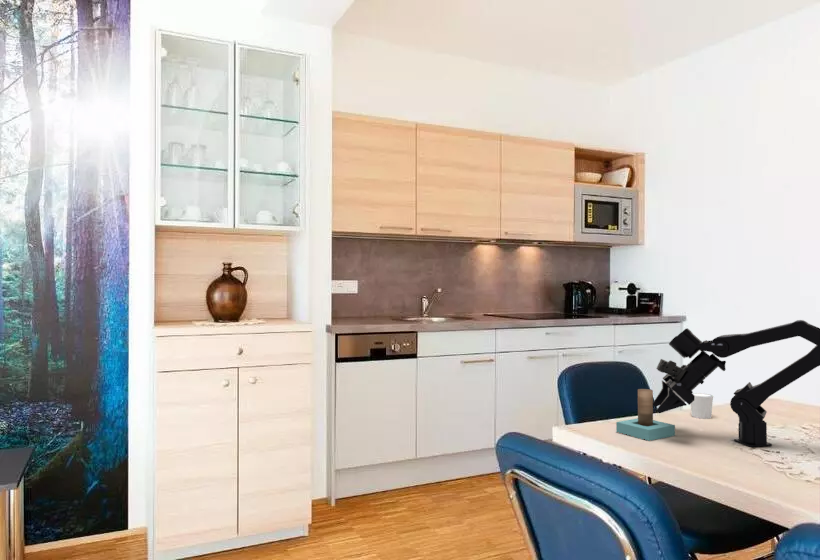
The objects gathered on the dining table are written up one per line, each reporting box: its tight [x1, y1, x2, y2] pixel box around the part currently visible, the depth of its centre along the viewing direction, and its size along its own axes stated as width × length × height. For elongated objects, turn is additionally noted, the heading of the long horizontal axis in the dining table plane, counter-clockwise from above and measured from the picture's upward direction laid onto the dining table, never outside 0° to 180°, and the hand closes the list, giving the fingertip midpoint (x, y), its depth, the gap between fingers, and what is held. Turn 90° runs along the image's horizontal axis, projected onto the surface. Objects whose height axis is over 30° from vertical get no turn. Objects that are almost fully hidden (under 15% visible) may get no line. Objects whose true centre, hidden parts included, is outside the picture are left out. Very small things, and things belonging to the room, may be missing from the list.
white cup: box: [690, 392, 714, 419], centre depth 192 cm, size 7×7×7 cm
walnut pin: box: [637, 388, 654, 426], centre depth 170 cm, size 4×4×12 cm
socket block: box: [615, 417, 676, 442], centre depth 170 cm, size 11×11×3 cm
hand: (655, 408), depth 169 cm, fingers open, 9 cm apart
